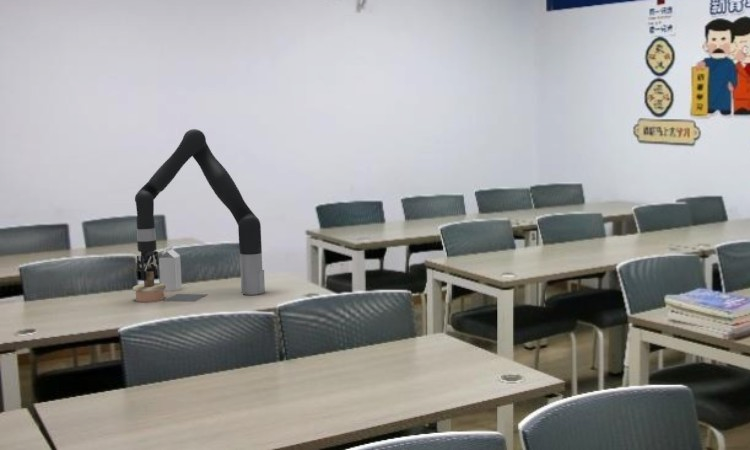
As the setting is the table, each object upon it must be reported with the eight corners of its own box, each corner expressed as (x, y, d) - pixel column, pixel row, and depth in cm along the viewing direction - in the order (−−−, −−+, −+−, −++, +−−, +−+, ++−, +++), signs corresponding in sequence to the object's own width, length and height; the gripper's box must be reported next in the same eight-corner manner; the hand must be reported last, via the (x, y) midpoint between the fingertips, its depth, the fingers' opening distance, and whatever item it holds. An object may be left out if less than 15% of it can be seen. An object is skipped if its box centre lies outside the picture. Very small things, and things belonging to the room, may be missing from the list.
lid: (171, 285, 345) (170, 269, 344) (156, 292, 332) (155, 275, 332) (142, 285, 348) (141, 268, 347) (127, 291, 335) (126, 274, 334)
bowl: (168, 297, 345) (167, 286, 344) (156, 303, 334) (155, 291, 334) (144, 297, 347) (143, 285, 346) (131, 303, 336) (130, 291, 336)
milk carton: (182, 289, 363) (179, 246, 361) (176, 292, 356) (174, 248, 354) (166, 289, 364) (164, 246, 362) (160, 292, 357) (158, 249, 355)
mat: (208, 295, 347) (208, 294, 347) (194, 303, 334) (194, 301, 333) (177, 295, 350) (177, 293, 350) (162, 302, 336) (162, 300, 336)
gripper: (146, 241, 330) (149, 281, 332) (162, 236, 344) (165, 275, 346) (129, 241, 331) (132, 281, 333) (146, 236, 345) (148, 275, 347)
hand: (148, 278), depth 340 cm, fingers open, 8 cm apart
